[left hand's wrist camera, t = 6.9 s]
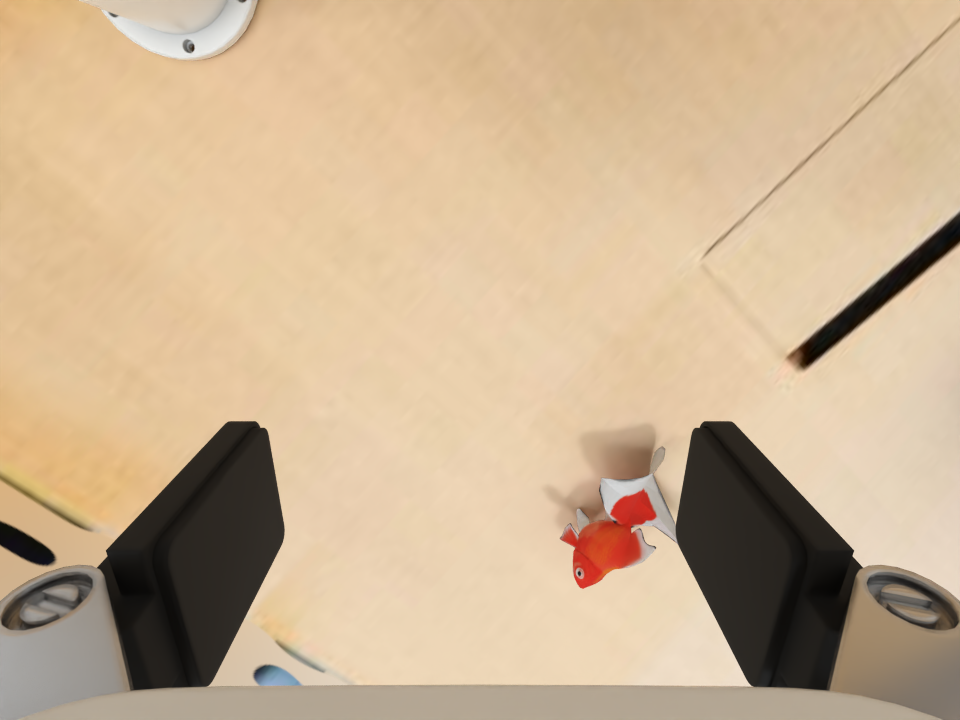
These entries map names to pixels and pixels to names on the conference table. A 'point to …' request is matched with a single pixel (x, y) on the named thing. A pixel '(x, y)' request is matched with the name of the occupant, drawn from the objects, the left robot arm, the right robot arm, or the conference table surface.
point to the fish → (619, 527)
